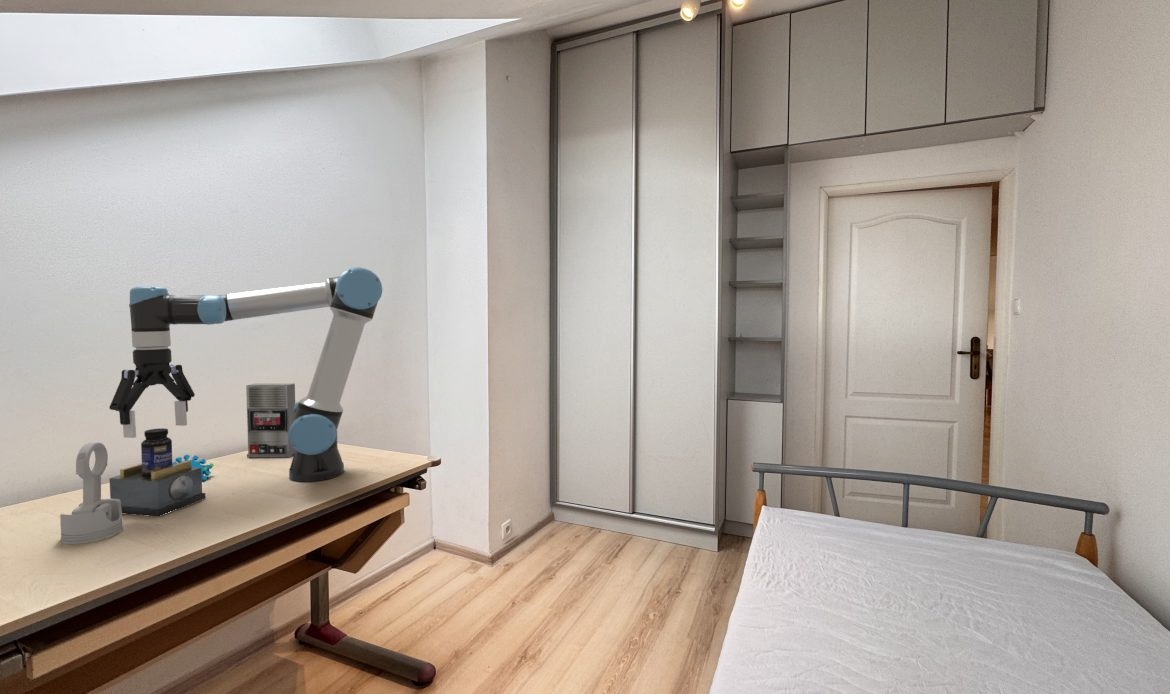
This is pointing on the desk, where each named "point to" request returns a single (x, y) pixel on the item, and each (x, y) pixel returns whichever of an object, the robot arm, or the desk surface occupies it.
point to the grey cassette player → (270, 419)
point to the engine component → (91, 502)
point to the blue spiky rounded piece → (197, 465)
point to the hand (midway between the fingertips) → (157, 431)
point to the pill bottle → (156, 450)
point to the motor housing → (157, 489)
